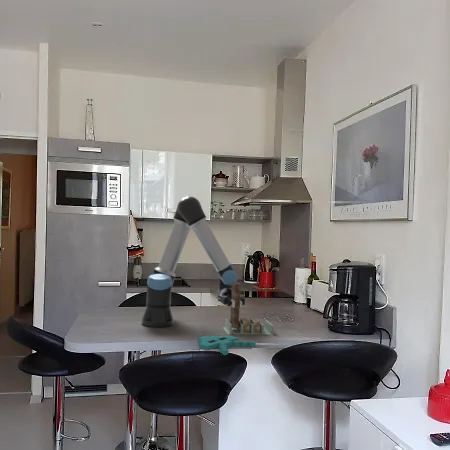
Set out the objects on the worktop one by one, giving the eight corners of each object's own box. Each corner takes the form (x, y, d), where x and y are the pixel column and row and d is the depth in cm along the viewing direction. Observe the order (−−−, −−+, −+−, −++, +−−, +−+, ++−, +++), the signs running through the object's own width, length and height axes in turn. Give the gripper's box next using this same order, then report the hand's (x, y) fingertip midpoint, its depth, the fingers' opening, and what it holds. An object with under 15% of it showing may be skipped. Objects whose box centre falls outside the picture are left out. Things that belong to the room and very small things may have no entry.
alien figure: (255, 347, 192) (218, 337, 205) (255, 342, 192) (218, 332, 205) (224, 356, 177) (186, 345, 189) (224, 350, 177) (187, 340, 189)
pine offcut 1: (242, 332, 211) (243, 321, 211) (239, 328, 218) (240, 318, 218) (249, 332, 211) (249, 321, 211) (245, 328, 219) (246, 318, 219)
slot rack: (227, 336, 207) (227, 324, 207) (222, 329, 220) (223, 318, 220) (274, 336, 210) (275, 325, 210) (267, 329, 223) (268, 319, 223)
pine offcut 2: (253, 332, 211) (253, 321, 211) (249, 328, 219) (250, 318, 219) (259, 332, 212) (260, 322, 212) (255, 328, 220) (256, 318, 220)
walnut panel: (233, 328, 210) (235, 284, 210) (230, 324, 218) (232, 281, 218) (238, 328, 210) (240, 284, 210) (235, 324, 218) (237, 282, 218)
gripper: (243, 304, 233) (254, 313, 210) (213, 303, 230) (220, 312, 207) (244, 289, 233) (254, 296, 210) (213, 288, 230) (220, 296, 207)
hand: (237, 304), depth 208 cm, fingers closed on walnut panel, 2 cm apart
